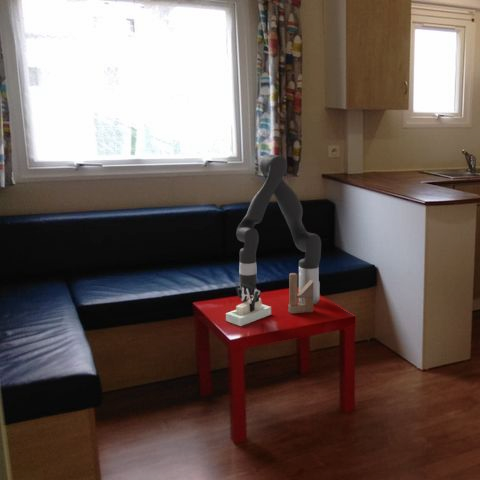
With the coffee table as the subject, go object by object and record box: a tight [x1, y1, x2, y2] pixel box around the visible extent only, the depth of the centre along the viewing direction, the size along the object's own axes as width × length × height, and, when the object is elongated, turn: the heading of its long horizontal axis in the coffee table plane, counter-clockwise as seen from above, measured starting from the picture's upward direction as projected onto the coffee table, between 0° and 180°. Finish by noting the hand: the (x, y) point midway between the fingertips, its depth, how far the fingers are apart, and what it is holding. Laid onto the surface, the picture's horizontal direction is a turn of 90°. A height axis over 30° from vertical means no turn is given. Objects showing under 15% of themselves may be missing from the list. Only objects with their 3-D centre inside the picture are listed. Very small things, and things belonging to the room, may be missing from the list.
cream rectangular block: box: [235, 297, 263, 316], centre depth 233 cm, size 12×4×5 cm, turn 134°
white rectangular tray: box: [225, 303, 272, 327], centre depth 233 cm, size 19×9×4 cm, turn 134°
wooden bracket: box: [287, 272, 314, 314], centre depth 237 cm, size 4×11×18 cm, turn 102°
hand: (248, 309), depth 233 cm, fingers closed on cream rectangular block, 3 cm apart
